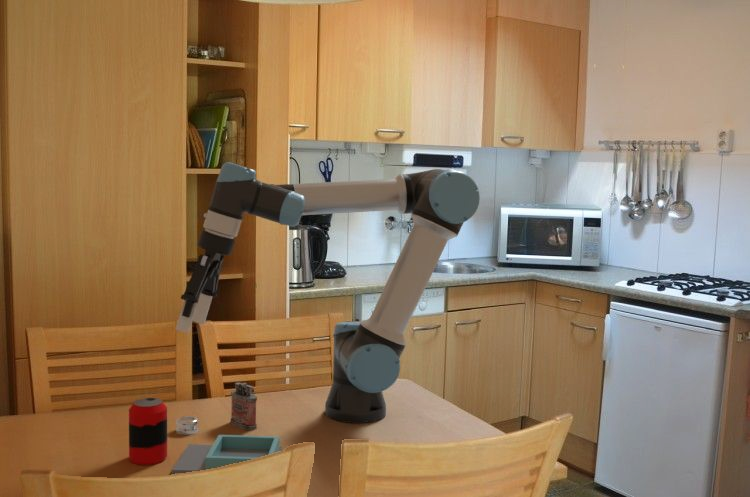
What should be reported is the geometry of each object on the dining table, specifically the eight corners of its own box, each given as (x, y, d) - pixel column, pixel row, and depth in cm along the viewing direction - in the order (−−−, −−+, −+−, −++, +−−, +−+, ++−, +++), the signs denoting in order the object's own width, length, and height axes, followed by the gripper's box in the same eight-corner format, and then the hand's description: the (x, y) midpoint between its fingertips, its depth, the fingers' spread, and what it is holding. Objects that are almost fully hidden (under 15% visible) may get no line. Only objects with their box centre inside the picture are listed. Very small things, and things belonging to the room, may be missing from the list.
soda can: (170, 452, 167) (170, 397, 166) (162, 465, 160) (162, 408, 158) (134, 451, 167) (134, 396, 166) (124, 465, 159) (124, 407, 158)
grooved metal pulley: (189, 436, 177) (202, 429, 181) (189, 423, 177) (203, 417, 181) (171, 432, 179) (185, 426, 184) (171, 420, 179) (185, 413, 183)
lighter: (227, 422, 187) (227, 381, 186) (238, 419, 189) (239, 378, 188) (248, 431, 181) (248, 388, 180) (260, 427, 184) (260, 386, 183)
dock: (282, 451, 169) (282, 435, 169) (273, 477, 155) (273, 460, 155) (188, 448, 169) (188, 433, 169) (172, 474, 155) (172, 457, 155)
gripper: (215, 227, 183) (188, 314, 184) (187, 229, 158) (156, 329, 159) (246, 237, 183) (219, 324, 184) (223, 240, 158) (192, 340, 159)
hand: (190, 326), depth 171 cm, fingers open, 13 cm apart
